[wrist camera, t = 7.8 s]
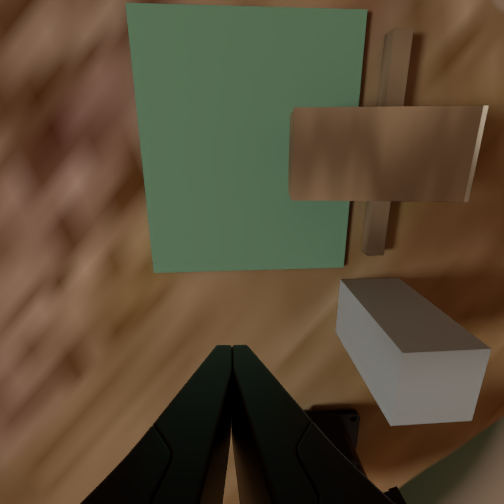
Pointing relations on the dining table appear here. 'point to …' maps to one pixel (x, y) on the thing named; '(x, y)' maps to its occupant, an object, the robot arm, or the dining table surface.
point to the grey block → (410, 352)
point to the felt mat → (237, 130)
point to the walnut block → (384, 153)
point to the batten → (389, 96)
